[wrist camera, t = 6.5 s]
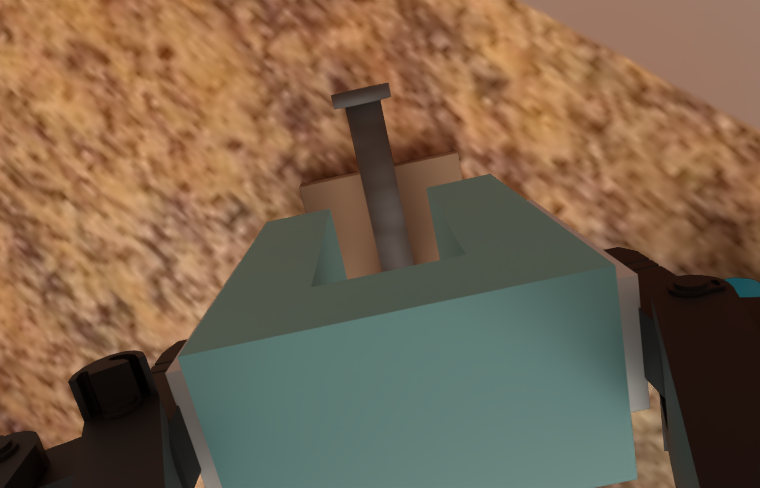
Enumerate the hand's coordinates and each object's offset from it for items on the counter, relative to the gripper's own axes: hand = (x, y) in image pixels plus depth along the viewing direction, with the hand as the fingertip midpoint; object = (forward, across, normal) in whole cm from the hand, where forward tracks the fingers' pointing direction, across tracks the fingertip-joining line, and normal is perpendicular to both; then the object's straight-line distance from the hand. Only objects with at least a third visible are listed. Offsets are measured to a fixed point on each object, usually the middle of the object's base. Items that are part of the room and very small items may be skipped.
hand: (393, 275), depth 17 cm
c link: (+2, 0, 0) cm, 2 cm away
